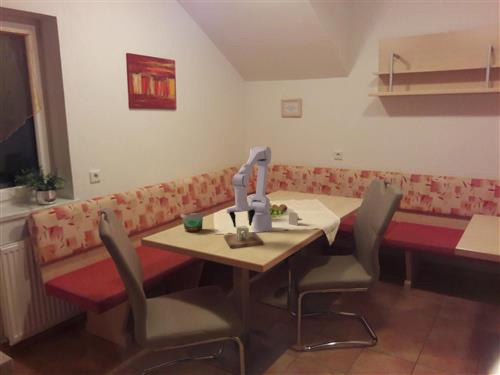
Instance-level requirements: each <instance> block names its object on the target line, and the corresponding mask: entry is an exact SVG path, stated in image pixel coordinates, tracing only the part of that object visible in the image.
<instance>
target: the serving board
mask: <svg viewBox="0 0 500 375" xmlns="http://www.w3.org/2000/svg"><path fill="white" fill-rule="evenodd" d="M223 238H224V240H225V242H226V244H227V245H228V247H229V249H236V248H245V247H254V246H261V245H264V241H263V240H262V238H260V236H259V235H258V233H257V232H254V231H249V239H246V237H244V232H241V240H238V238H237V233H234V234H225V235H223Z"/></svg>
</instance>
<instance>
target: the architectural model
mask: <svg viewBox="0 0 500 375" xmlns="http://www.w3.org/2000/svg"><path fill="white" fill-rule="evenodd" d="M302 220H303V218H301V217H300V216H298V213H297V212H296V211H295V212H293V211H288V225H291V226H297V227H298V225H299V224H298V223H299V222H300V221H302Z"/></svg>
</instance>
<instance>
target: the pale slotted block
mask: <svg viewBox="0 0 500 375" xmlns="http://www.w3.org/2000/svg"><path fill="white" fill-rule="evenodd" d="M235 229H236V231H235V232H236V234H237V238H238V240H241V233H244V237H246V239H249V232H250V228H249V227H248V226H247V225H241V226H239V225H238V226H236V227H235Z"/></svg>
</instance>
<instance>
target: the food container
mask: <svg viewBox="0 0 500 375" xmlns="http://www.w3.org/2000/svg"><path fill="white" fill-rule="evenodd" d="M204 216H205V214H204V212H203V211H202V212H191V213H187V214H185V213H181V216H180V218H182V223H183V228H184V232H186V233H188V234H189V233H190V234H191V233H195V234H196V233H199V232H202V231H203V221H204V220H203V218H204Z"/></svg>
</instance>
